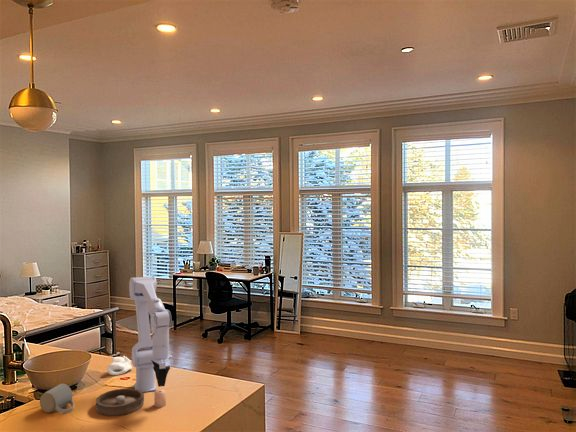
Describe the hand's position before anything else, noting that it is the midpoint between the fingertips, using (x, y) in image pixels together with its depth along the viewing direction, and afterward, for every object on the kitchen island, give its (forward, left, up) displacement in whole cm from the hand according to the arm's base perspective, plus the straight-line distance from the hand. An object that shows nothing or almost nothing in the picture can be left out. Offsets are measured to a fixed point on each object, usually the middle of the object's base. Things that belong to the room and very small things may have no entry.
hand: (160, 382), depth 161 cm
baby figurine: (-41, -13, -9) cm, 44 cm away
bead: (0, 0, -8) cm, 8 cm away
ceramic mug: (-9, -34, -9) cm, 36 cm away
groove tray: (-4, -14, -8) cm, 16 cm away
